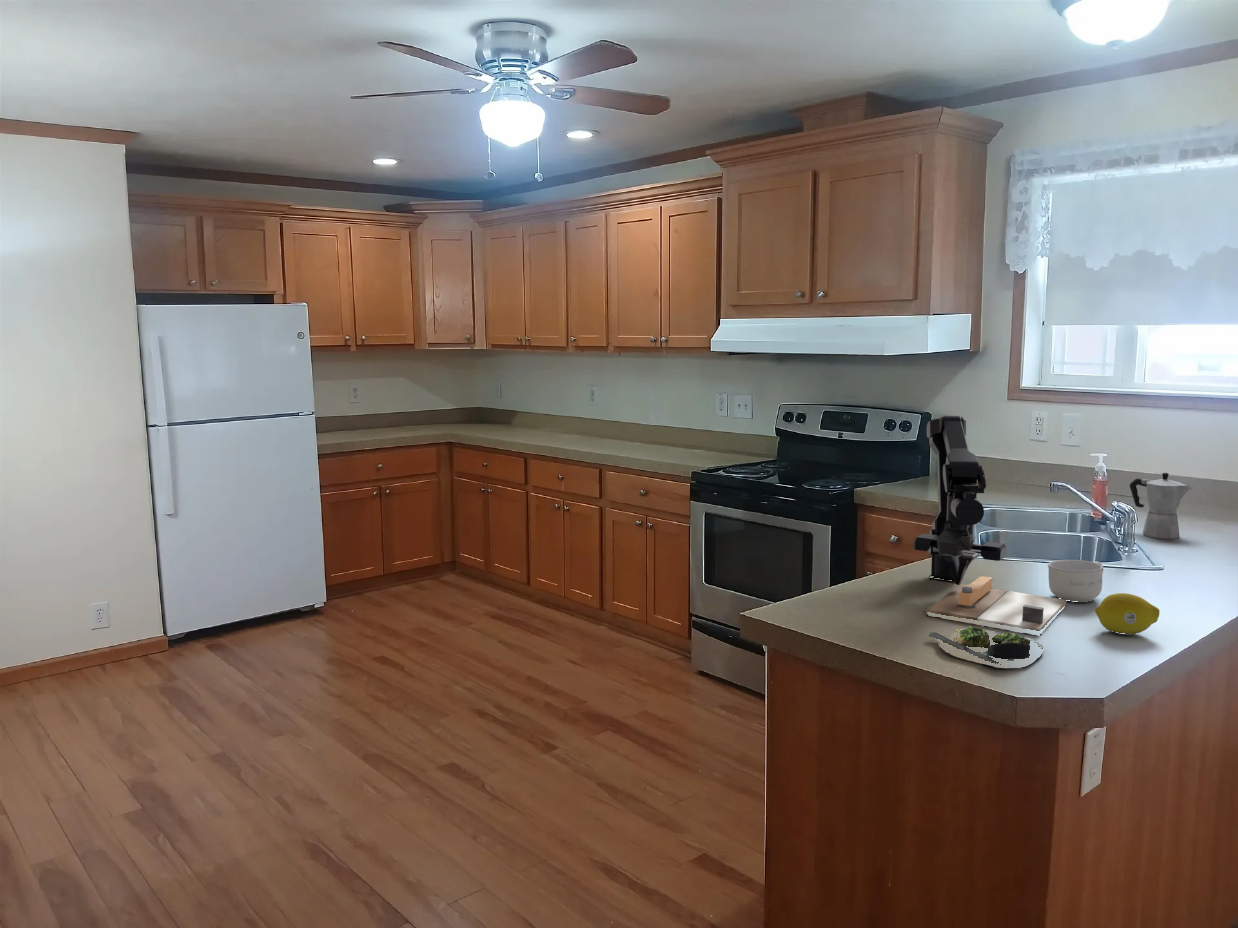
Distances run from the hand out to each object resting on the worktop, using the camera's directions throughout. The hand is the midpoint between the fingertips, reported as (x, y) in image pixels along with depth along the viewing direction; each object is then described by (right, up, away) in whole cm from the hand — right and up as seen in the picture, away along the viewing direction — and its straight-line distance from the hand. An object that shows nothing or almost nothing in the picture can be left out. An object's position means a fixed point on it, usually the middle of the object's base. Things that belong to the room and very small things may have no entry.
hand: (957, 584), depth 200 cm
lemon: (+23, -7, -25) cm, 35 cm away
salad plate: (-6, -9, -33) cm, 35 cm away
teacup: (+26, -3, -2) cm, 26 cm away
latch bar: (+2, -2, -6) cm, 6 cm away
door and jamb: (+4, -4, -10) cm, 12 cm away
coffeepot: (+77, +6, +55) cm, 95 cm away
